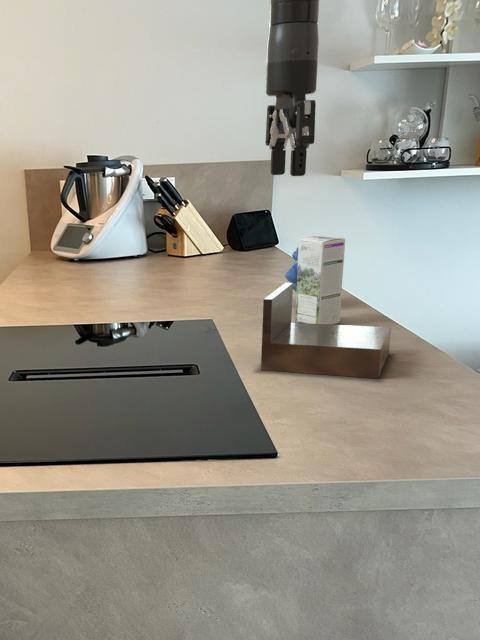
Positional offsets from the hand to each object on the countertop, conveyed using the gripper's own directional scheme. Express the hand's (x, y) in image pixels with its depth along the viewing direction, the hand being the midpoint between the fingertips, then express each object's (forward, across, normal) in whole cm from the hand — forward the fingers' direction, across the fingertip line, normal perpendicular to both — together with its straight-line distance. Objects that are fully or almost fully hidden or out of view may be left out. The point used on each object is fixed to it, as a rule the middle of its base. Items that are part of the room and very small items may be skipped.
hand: (287, 175), depth 124 cm
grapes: (+25, +19, -11) cm, 34 cm away
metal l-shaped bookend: (+25, -22, +1) cm, 33 cm away
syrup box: (+25, +4, -8) cm, 27 cm away
